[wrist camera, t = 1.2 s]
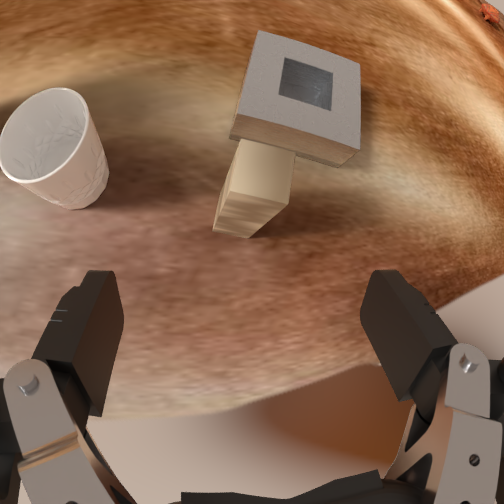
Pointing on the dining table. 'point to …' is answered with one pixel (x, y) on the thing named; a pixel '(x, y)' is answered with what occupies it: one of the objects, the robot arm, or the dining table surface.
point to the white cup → (55, 149)
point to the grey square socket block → (300, 100)
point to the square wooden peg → (254, 188)
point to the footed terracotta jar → (490, 13)
